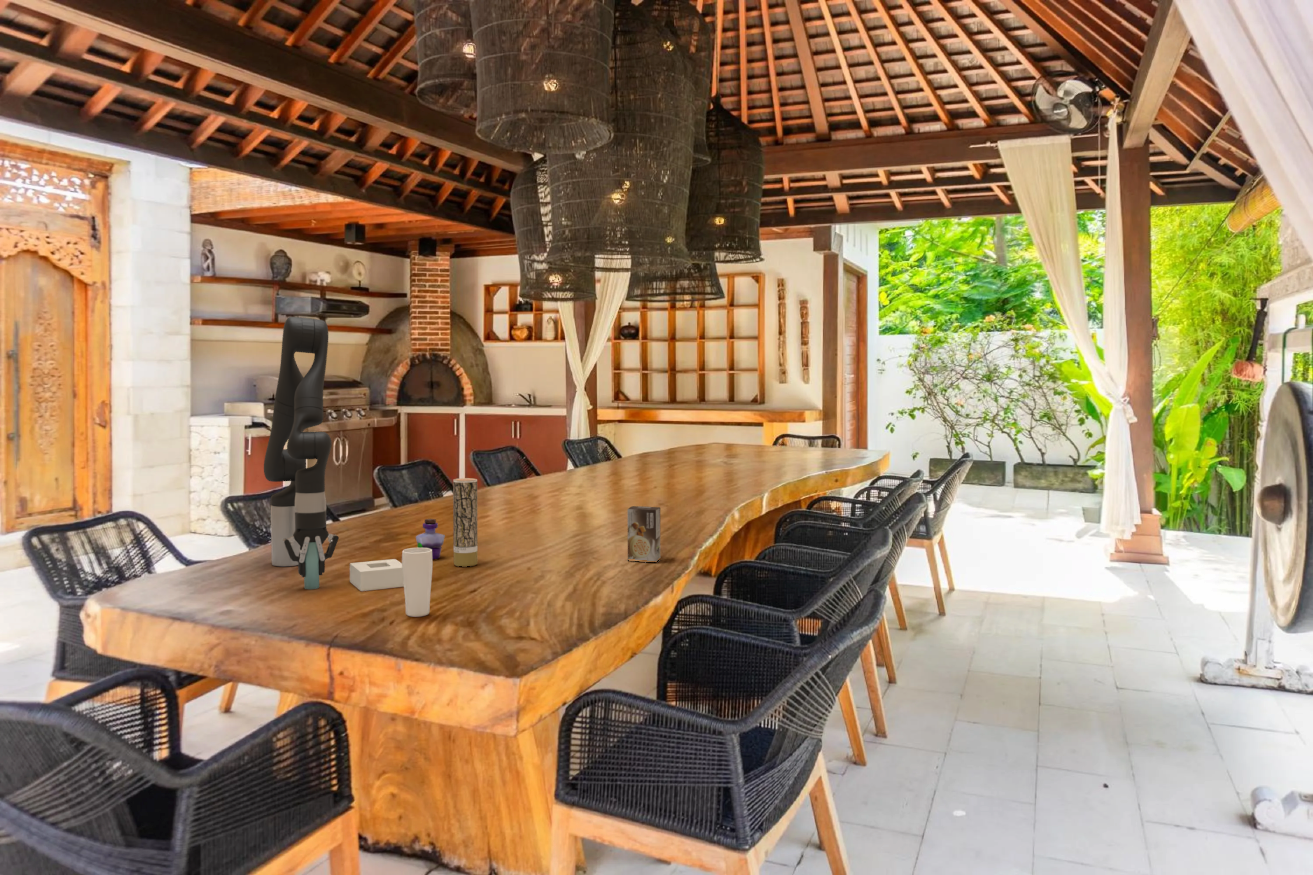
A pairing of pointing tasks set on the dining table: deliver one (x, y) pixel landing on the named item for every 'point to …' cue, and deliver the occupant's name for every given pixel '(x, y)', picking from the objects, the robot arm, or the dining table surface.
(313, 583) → the peg
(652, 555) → the coffee box
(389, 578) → the socket block
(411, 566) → the drinking glass
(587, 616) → the dining table surface
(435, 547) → the potion bottle
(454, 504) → the paper tube
